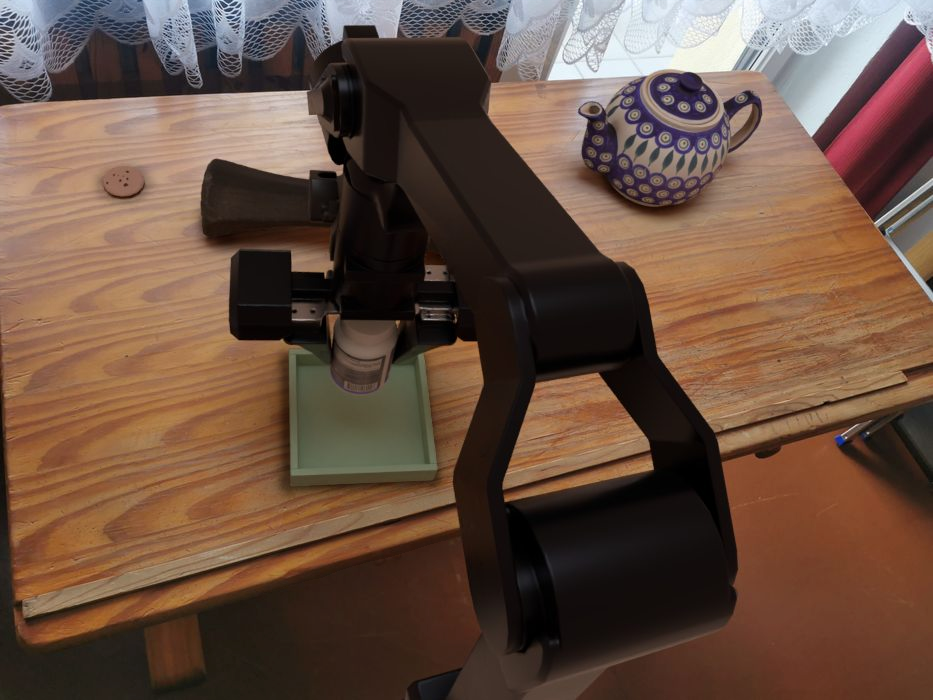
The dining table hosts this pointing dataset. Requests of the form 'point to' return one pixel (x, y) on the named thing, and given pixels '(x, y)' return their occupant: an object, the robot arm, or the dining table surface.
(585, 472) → the dining table surface
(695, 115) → the teapot
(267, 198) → the dark brown bone
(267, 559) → the dining table surface
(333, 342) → the pill bottle
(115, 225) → the dining table surface
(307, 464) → the tray
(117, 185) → the cookie
